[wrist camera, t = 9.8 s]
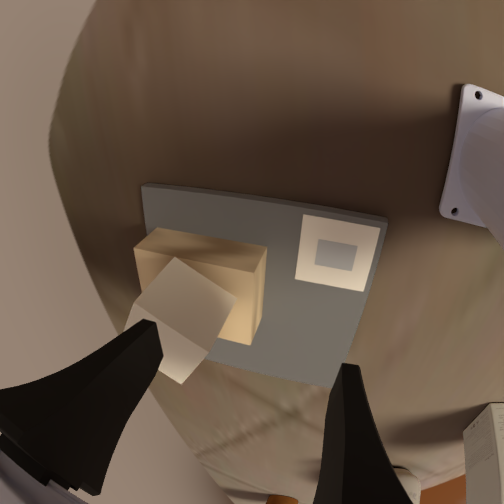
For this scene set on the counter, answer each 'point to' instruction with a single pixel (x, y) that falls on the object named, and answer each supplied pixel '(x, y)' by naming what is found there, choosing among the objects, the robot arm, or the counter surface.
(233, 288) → the oak base brick
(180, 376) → the cream cube
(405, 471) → the teacup
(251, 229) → the board
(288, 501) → the disposable coffee cup
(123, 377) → the robot arm
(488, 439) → the small box
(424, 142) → the counter surface
